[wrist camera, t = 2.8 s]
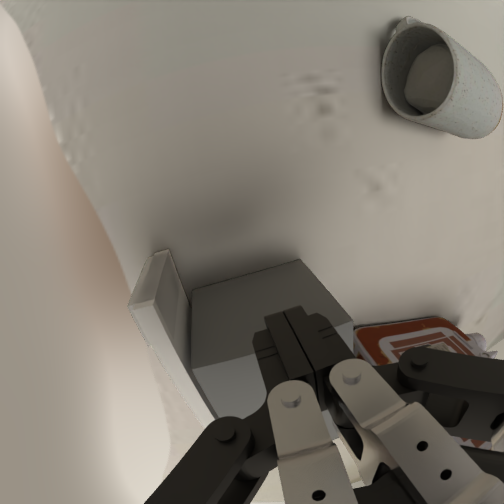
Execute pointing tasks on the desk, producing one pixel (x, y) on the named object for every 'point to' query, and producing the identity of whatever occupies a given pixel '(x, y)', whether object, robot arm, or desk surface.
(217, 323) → the block
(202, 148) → the desk surface
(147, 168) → the desk surface
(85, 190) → the desk surface
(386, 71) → the ceramic mug
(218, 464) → the robot arm
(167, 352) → the side door
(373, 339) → the cine camera
